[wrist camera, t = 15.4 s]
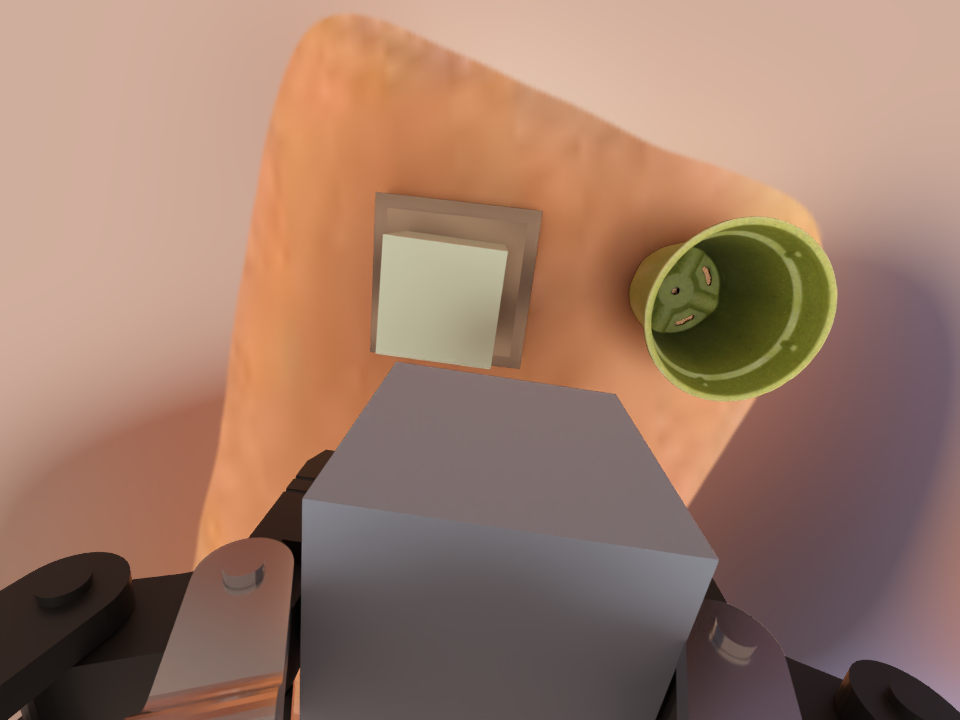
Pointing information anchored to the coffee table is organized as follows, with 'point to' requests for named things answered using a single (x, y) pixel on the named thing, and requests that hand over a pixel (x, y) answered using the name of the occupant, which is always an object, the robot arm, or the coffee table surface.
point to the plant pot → (736, 307)
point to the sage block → (439, 298)
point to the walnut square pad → (472, 224)
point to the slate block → (494, 558)
